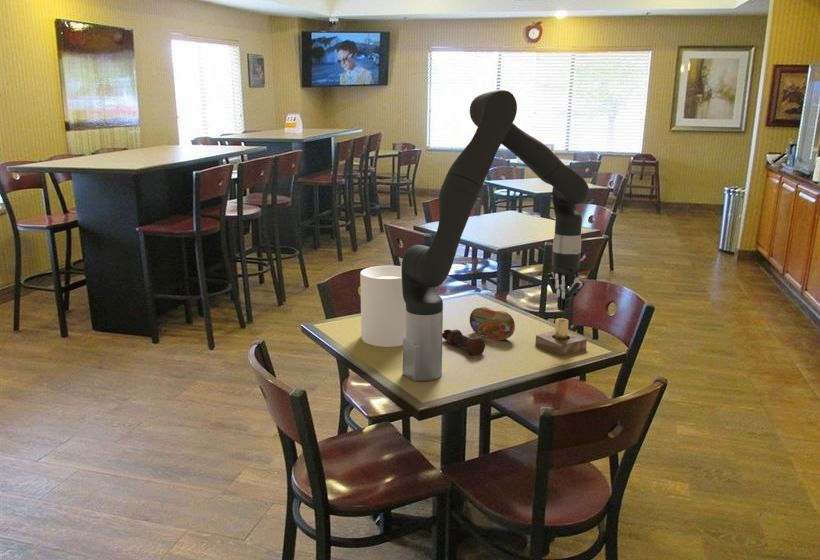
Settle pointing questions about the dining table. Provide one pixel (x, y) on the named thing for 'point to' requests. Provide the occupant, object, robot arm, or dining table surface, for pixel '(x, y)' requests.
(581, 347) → the block
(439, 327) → the robot arm
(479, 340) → the dark brown lumpy piece
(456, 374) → the dining table surface
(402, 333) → the canister
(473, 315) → the tin
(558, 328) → the bushing
